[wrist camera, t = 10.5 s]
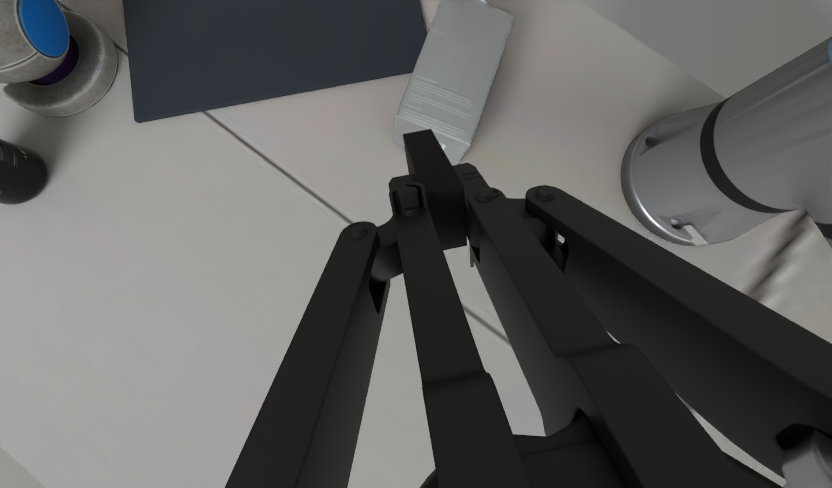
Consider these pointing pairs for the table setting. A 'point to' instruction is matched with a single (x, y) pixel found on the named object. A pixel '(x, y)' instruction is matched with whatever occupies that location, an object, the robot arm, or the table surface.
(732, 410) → the robot arm
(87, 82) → the webcam
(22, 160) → the supplement bottle
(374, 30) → the mat
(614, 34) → the table surface
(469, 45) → the cosmetic box
